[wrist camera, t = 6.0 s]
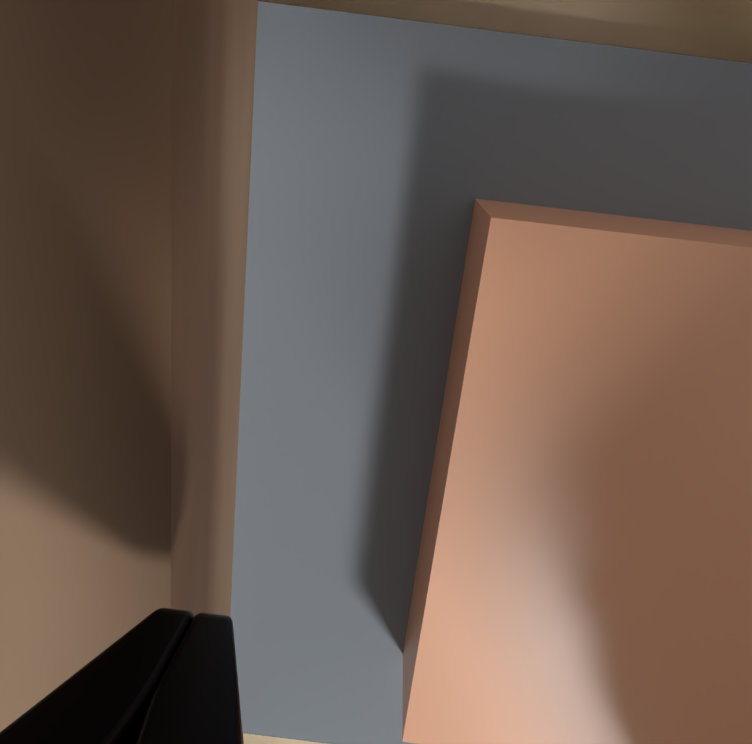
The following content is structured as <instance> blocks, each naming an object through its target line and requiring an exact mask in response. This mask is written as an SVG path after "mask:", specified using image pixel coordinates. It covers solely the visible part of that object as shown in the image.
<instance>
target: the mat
mask: <svg viewBox="0 0 752 744" xmlns="http://www.w3.org/2000/svg"><path fill="white" fill-rule="evenodd" d="M475 199H483V200H491V201H500V202H509V203H517V204H526V205H534V206H543V207H552V208H560V209H569V210H577V211H586V212H595V213H603V214H612V215H620V216H629V217H638V218H646V219H655V220H663V221H672V222H681V223H689V224H698V225H706V226H715V227H723V228H732V229H741V230H749V231H752V63H746V62H738V61H730V60H722V59H714V58H706V57H698V56H691V55H683V54H675V53H667V52H659V51H651V50H643V49H635V48H627V47H619V46H611V45H603V44H595V43H587V42H579V41H571V40H563V39H556V38H548V37H540V36H532V35H524V34H516V33H508V32H500V31H492V30H484V29H476V28H468V27H460V26H452V25H444V24H436V23H428V22H421V21H413V20H405V19H397V18H389V17H381V16H373V15H365V14H357V13H349V12H341V11H333V10H325V9H317V8H309V7H301V6H293V5H286V4H278V3H270V2H262V1H258V13H257V35H256V57H255V79H254V101H253V124H252V146H251V168H250V190H249V212H248V234H247V256H246V279H245V301H244V323H243V345H242V367H241V389H240V412H239V434H238V456H237V478H236V500H235V522H234V544H233V567H232V589H231V611H230V617H231V619H232V621H233V629H234V641H235V652H236V663H237V674H238V686H239V697H240V708H241V719H242V731H243V733H247V734H255V735H263V736H271V737H280V738H288V739H296V740H304V741H312V742H320V743H328V744H417V743H408V742H402V704H403V650H404V644H405V637H406V631H407V625H408V618H409V612H410V606H411V600H412V593H413V587H414V581H415V574H416V568H417V562H418V556H419V549H420V543H421V537H422V530H423V524H424V518H425V512H426V505H427V499H428V493H429V486H430V480H431V474H432V468H433V461H434V455H435V449H436V442H437V436H438V430H439V424H440V417H441V411H442V405H443V398H444V392H445V386H446V380H447V373H448V367H449V361H450V354H451V348H452V342H453V336H454V329H455V323H456V317H457V310H458V304H459V298H460V292H461V285H462V279H463V273H464V266H465V260H466V254H467V248H468V241H469V235H470V229H471V222H472V216H473V210H474V204H475Z"/></svg>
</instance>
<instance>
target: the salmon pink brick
mask: <svg viewBox="0 0 752 744" xmlns="http://www.w3.org/2000/svg"><path fill="white" fill-rule="evenodd" d="M402 742H408V743H417V744H752V231H749V230H741V229H732V228H723V227H715V226H706V225H698V224H689V223H681V222H672V221H663V220H655V219H646V218H638V217H629V216H620V215H612V214H603V213H595V212H586V211H577V210H569V209H560V208H552V207H543V206H534V205H526V204H517V203H509V202H500V201H491V200H483V199H475V204H474V210H473V216H472V222H471V229H470V235H469V241H468V248H467V254H466V260H465V266H464V273H463V279H462V285H461V292H460V298H459V304H458V310H457V317H456V323H455V329H454V336H453V342H452V348H451V354H450V361H449V367H448V373H447V380H446V386H445V392H444V398H443V405H442V411H441V417H440V424H439V430H438V436H437V442H436V449H435V455H434V461H433V468H432V474H431V480H430V486H429V493H428V499H427V505H426V512H425V518H424V524H423V530H422V537H421V543H420V549H419V556H418V562H417V568H416V574H415V581H414V587H413V593H412V600H411V606H410V612H409V618H408V625H407V631H406V637H405V644H404V650H403V704H402Z"/></svg>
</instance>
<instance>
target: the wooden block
mask: <svg viewBox="0 0 752 744" xmlns="http://www.w3.org/2000/svg"><path fill="white" fill-rule="evenodd" d="M257 13H258V1H257V0H0V732H1V731H2V730H3V729H5V728H6V727H7V726H9V725H10V724H11V723H12V722H14V721H15V720H16V719H17V718H19V717H20V716H21V715H23V714H24V713H25V712H26V711H28V710H29V709H30V708H31V707H33V706H34V705H35V704H37V703H38V702H39V701H40V700H42V699H43V698H44V697H45V696H47V695H48V694H49V693H51V692H52V691H53V690H54V689H56V688H57V687H58V686H59V685H61V684H62V683H63V682H65V681H66V680H67V679H68V678H70V677H71V676H72V675H73V674H75V673H76V672H77V671H79V670H80V669H81V668H82V667H84V666H85V665H86V664H87V663H89V662H90V661H91V660H93V659H94V658H95V657H96V656H98V655H99V654H100V653H101V652H103V651H104V650H105V649H107V648H108V647H109V646H110V645H112V644H113V643H114V642H115V641H117V640H118V639H119V638H121V637H122V636H123V635H124V634H126V633H127V632H128V631H129V630H131V629H132V628H133V627H135V626H136V625H137V624H138V623H140V622H141V621H142V620H143V619H145V618H146V617H147V616H149V615H150V614H151V613H152V612H154V611H155V610H157V609H160V608H171V609H179V610H187V611H191V612H192V613H193V614H194V615H195V616H196V615H197V614H199V613H211V614H219V615H227V616H230V611H231V589H232V567H233V544H234V522H235V500H236V478H237V456H238V434H239V412H240V389H241V367H242V345H243V323H244V301H245V279H246V256H247V234H248V212H249V190H250V168H251V146H252V124H253V101H254V79H255V57H256V35H257Z"/></svg>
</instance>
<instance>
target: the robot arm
mask: <svg viewBox="0 0 752 744" xmlns="http://www.w3.org/2000/svg"><path fill="white" fill-rule="evenodd" d="M0 744H244V742H243V731H242V719H241V708H240V697H239V686H238V674H237V663H236V652H235V641H234V629H233V621H232V619H231V617H230V616H227V615H219V614H211V613H199V614H197V615H196V616H195V615H194V614H193V613H192V612H191V611H187V610H179V609H171V608H160V609H157V610H155V611H154V612H152V613H151V614H150V615H149V616H147V617H146V618H145V619H143V620H142V621H141V622H140V623H138V624H137V625H136V626H135V627H133V628H132V629H131V630H129V631H128V632H127V633H126V634H124V635H123V636H122V637H121V638H119V639H118V640H117V641H115V642H114V643H113V644H112V645H110V646H109V647H108V648H107V649H105V650H104V651H103V652H101V653H100V654H99V655H98V656H96V657H95V658H94V659H93V660H91V661H90V662H89V663H87V664H86V665H85V666H84V667H82V668H81V669H80V670H79V671H77V672H76V673H75V674H73V675H72V676H71V677H70V678H68V679H67V680H66V681H65V682H63V683H62V684H61V685H59V686H58V687H57V688H56V689H54V690H53V691H52V692H51V693H49V694H48V695H47V696H45V697H44V698H43V699H42V700H40V701H39V702H38V703H37V704H35V705H34V706H33V707H31V708H30V709H29V710H28V711H26V712H25V713H24V714H23V715H21V716H20V717H19V718H17V719H16V720H15V721H14V722H12V723H11V724H10V725H9V726H7V727H6V728H5V729H3V730H2V731H1V732H0Z"/></svg>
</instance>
